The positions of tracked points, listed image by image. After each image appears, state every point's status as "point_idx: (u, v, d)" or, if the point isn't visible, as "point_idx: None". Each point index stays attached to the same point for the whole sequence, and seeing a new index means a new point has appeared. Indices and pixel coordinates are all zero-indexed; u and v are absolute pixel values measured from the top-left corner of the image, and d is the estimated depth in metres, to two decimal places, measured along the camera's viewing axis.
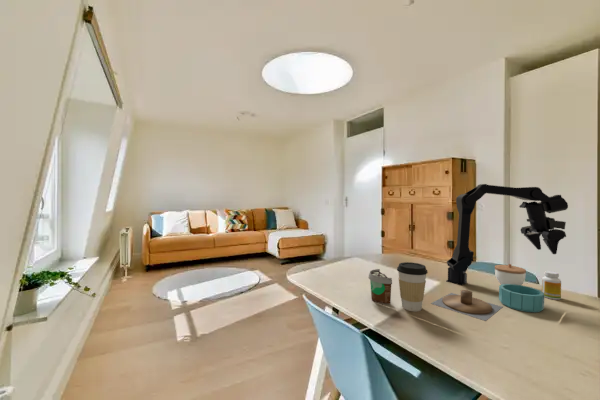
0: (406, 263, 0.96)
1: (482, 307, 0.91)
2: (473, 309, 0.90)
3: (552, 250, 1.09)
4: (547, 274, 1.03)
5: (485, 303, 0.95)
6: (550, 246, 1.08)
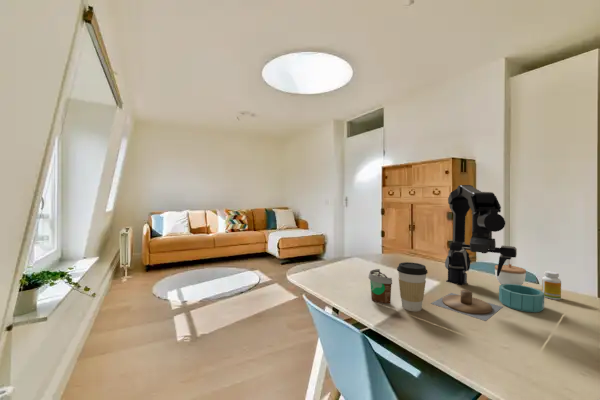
0: (406, 263, 0.96)
1: (482, 307, 0.91)
2: (473, 309, 0.90)
3: None
4: (547, 274, 1.03)
5: (485, 303, 0.95)
6: None
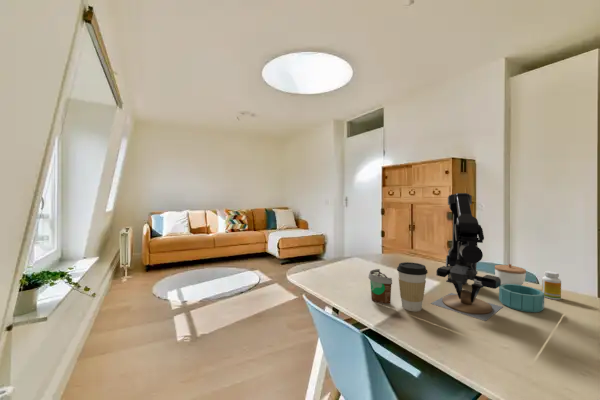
0: (406, 263, 0.96)
1: (482, 307, 0.91)
2: (473, 309, 0.90)
3: None
4: (547, 274, 1.03)
5: (485, 303, 0.95)
6: None
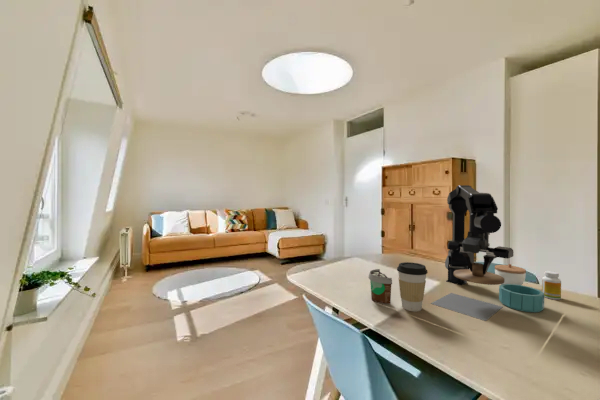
0: (406, 263, 0.96)
1: (494, 278, 0.91)
2: (485, 280, 0.90)
3: None
4: (547, 274, 1.03)
5: (497, 275, 0.95)
6: None
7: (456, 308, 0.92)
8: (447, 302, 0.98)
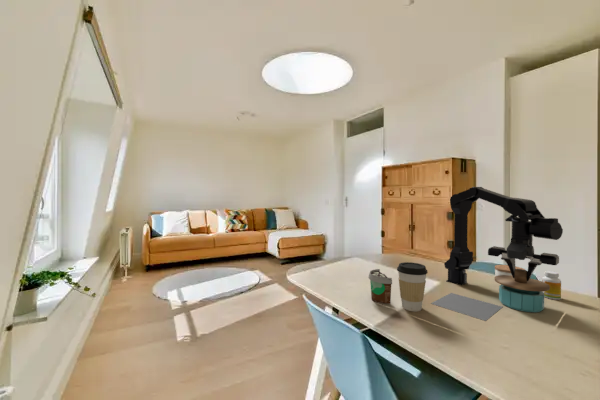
0: (406, 263, 0.96)
1: (539, 285, 0.91)
2: (531, 287, 0.90)
3: None
4: (547, 274, 1.03)
5: (540, 282, 0.95)
6: None
7: (456, 308, 0.92)
8: (447, 302, 0.98)
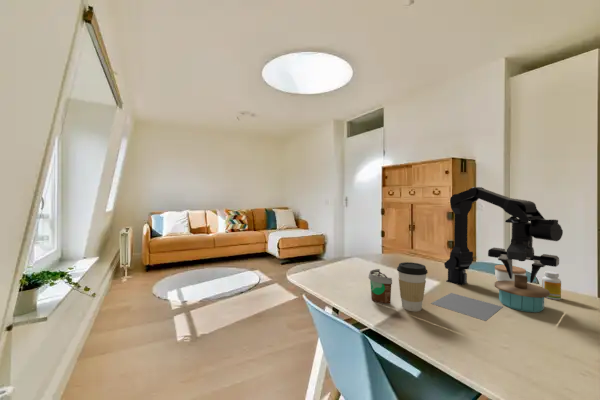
0: (406, 263, 0.96)
1: (539, 291, 0.91)
2: (531, 293, 0.90)
3: None
4: (547, 274, 1.03)
5: (540, 287, 0.95)
6: None
7: (456, 308, 0.92)
8: (447, 302, 0.98)
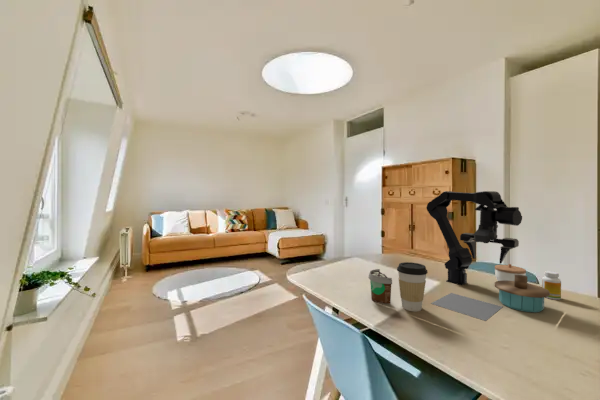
0: (406, 263, 0.96)
1: (539, 291, 0.91)
2: (531, 293, 0.90)
3: None
4: (547, 274, 1.03)
5: (540, 287, 0.95)
6: None
7: (456, 308, 0.92)
8: (447, 302, 0.98)
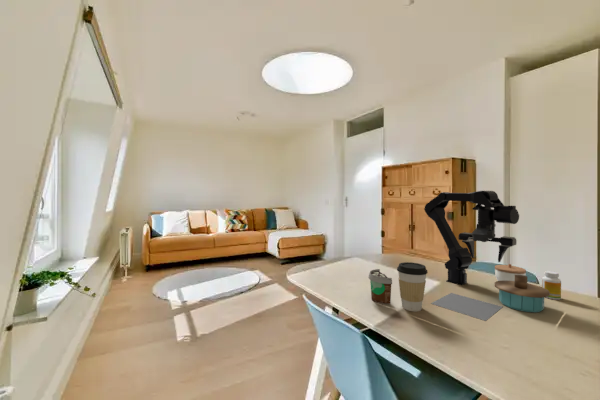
0: (406, 263, 0.96)
1: (539, 291, 0.91)
2: (531, 293, 0.90)
3: None
4: (547, 274, 1.03)
5: (540, 287, 0.95)
6: None
7: (456, 308, 0.92)
8: (447, 302, 0.98)
